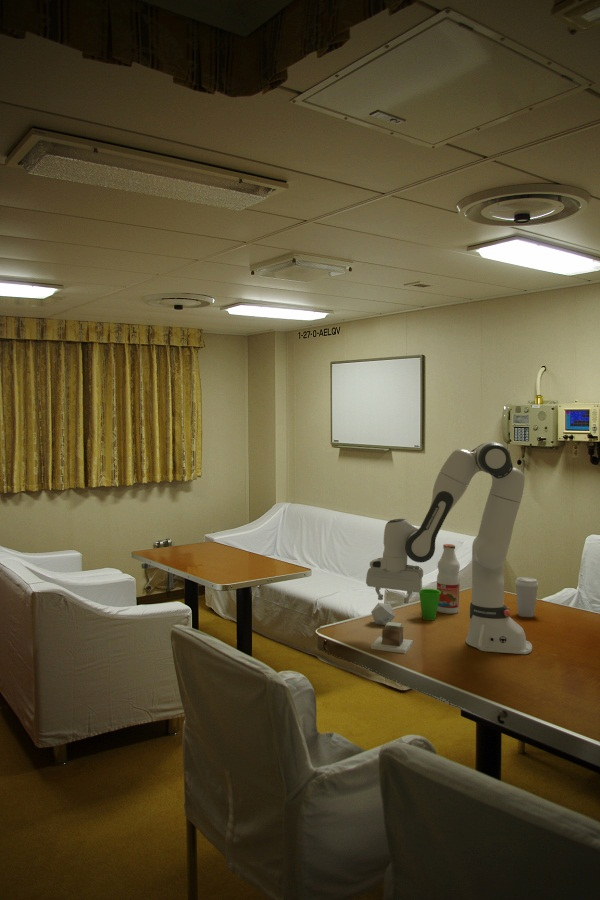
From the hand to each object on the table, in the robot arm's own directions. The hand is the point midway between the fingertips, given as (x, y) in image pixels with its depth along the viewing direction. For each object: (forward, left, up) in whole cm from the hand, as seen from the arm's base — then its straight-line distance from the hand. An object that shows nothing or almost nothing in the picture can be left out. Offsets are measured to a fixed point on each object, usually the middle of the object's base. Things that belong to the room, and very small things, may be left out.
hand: (393, 601), depth 244 cm
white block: (+8, -16, -13) cm, 22 cm away
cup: (-7, -32, -13) cm, 36 cm away
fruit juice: (-12, -47, -13) cm, 50 cm away
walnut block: (-2, +10, -12) cm, 16 cm away
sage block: (0, 0, -13) cm, 13 cm away
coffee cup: (-43, -55, -13) cm, 71 cm away
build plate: (-2, +10, -13) cm, 17 cm away
